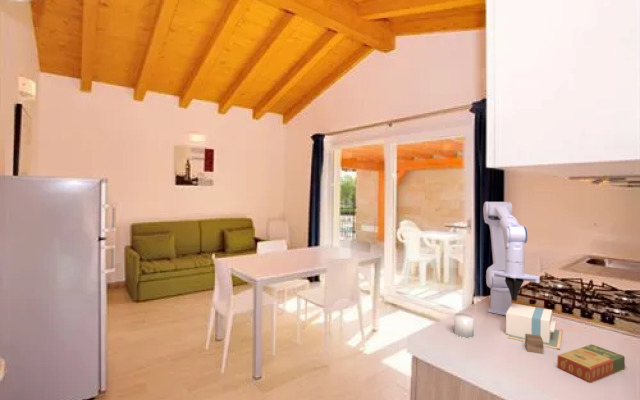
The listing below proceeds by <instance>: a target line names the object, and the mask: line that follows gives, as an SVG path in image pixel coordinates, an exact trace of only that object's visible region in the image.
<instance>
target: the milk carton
mask: <svg viewBox="0 0 640 400" xmlns="http://www.w3.org/2000/svg"><path fill="white" fill-rule="evenodd" d="M552 315H553V310H552V309H547V308H543V307H539V306H538V307H537V306H536V307H535V306H530V305H524V304H519V303H514V302H513V303H512V302H511V306H510V308H509V309H508V311H507V313H506V315H505V334H507V335H509V334H510V335H514V336H519V337H523V338H525V334H532V335H539V336H541V338H542V340H543V342H546V343H549V341H550V336H551V332H554V331H555V329H556V325H557V321H556V320H555V321H554V320H553V316H552Z"/></svg>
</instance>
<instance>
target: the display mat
mask: <svg viewBox="0 0 640 400" xmlns="http://www.w3.org/2000/svg"><path fill="white" fill-rule="evenodd" d="M507 338H508V339H512V340H515V341H521V342H524V343H525V338H523V337H519V336H514V335H510V334H508V336H507ZM562 338H563V329H558V328H555V331H554V332H551V336H550V341H549V343H546V342H543V347H545V348H550V349H553V350H558V351H561V343H562Z"/></svg>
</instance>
